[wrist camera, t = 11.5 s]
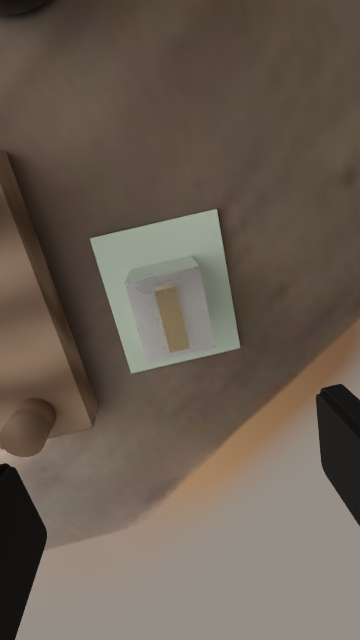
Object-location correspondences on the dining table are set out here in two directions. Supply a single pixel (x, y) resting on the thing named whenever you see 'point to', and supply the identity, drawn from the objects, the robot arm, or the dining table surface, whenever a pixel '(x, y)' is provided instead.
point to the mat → (159, 246)
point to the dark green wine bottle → (18, 6)
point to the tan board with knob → (34, 339)
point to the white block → (170, 309)
